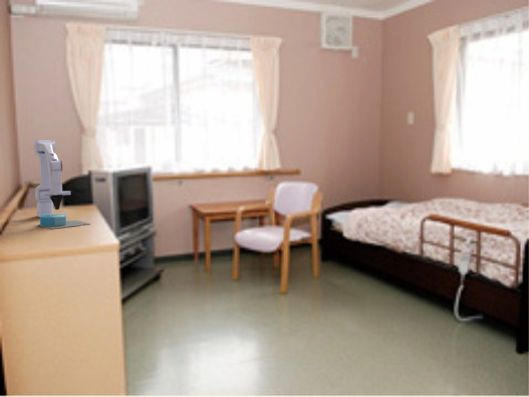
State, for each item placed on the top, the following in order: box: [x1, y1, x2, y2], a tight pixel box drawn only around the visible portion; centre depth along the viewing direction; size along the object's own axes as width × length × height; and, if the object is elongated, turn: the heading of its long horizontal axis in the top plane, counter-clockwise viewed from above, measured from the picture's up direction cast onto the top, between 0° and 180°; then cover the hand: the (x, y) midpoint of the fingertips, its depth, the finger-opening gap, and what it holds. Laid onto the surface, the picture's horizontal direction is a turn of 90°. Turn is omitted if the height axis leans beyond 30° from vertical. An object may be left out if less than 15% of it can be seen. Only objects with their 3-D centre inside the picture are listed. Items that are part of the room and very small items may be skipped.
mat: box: [37, 219, 91, 230], centre depth 241 cm, size 16×20×1 cm
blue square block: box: [39, 213, 67, 228], centre depth 240 cm, size 12×4×12 cm
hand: (57, 209), depth 245 cm, fingers closed
